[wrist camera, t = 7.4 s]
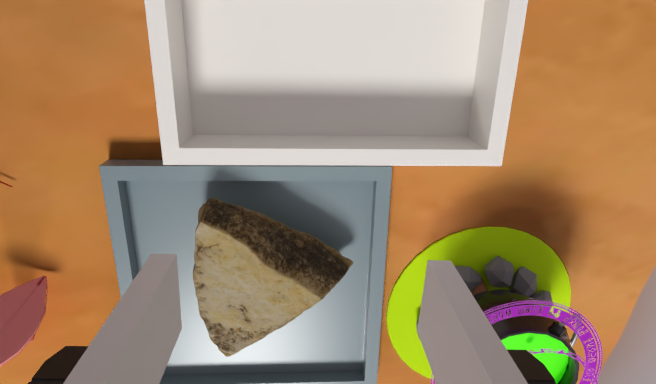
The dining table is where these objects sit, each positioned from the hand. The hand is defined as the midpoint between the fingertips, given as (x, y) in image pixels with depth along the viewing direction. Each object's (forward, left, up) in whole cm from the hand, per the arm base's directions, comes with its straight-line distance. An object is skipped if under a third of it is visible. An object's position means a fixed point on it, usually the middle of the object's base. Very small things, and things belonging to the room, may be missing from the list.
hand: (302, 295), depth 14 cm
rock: (-5, -13, -19) cm, 24 cm away
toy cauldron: (+14, -13, -18) cm, 26 cm away
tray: (-4, -10, -17) cm, 20 cm away
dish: (+2, +10, -18) cm, 20 cm away
